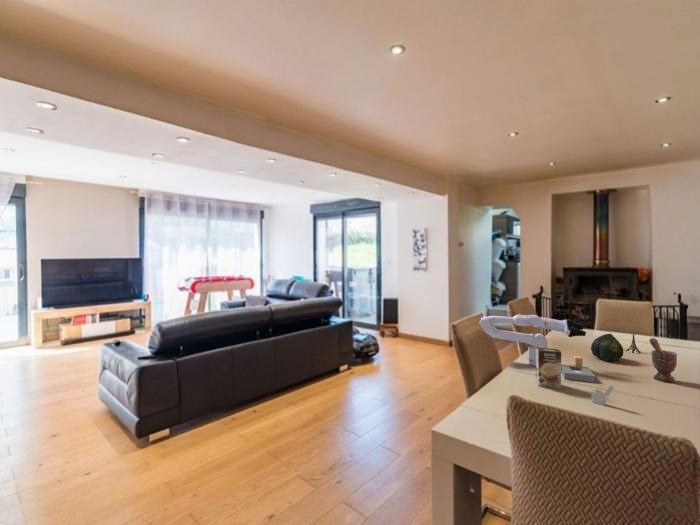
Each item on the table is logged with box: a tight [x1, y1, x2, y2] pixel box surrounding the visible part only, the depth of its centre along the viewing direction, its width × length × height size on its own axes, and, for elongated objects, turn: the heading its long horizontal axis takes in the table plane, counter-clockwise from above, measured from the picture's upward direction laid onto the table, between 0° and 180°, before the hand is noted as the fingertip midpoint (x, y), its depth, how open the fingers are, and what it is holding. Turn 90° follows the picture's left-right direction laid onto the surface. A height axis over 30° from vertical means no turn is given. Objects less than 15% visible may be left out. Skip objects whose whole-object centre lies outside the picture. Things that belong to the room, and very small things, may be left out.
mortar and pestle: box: [649, 337, 678, 384], centre depth 158 cm, size 12×9×20 cm
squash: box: [590, 333, 624, 362], centre depth 192 cm, size 14×15×15 cm
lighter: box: [591, 384, 615, 406], centre depth 134 cm, size 7×2×8 cm, turn 43°
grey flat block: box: [561, 363, 596, 383], centre depth 166 cm, size 12×14×3 cm
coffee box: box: [535, 347, 562, 389], centre depth 155 cm, size 9×6×16 cm
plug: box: [573, 355, 583, 367], centre depth 177 cm, size 3×4×6 cm
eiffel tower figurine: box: [625, 331, 642, 354], centre depth 206 cm, size 15×10×13 cm
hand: (584, 330), depth 177 cm, fingers open, 7 cm apart
